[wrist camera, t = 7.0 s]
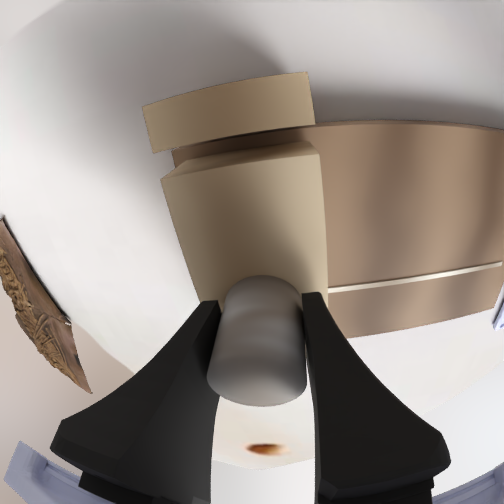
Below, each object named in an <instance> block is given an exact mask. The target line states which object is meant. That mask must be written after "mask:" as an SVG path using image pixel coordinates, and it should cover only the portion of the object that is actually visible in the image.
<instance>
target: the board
mask: <svg viewBox="0 0 504 504" xmlns="http://www.w3.org/2000/svg"><path fill="white" fill-rule="evenodd" d="M315 124H316V125H305V126H295V127H286V128H278V129H271V130H264V131H257V132H251V133H244V134H239V135H233V136H227V137H222V138H217V139H212V140H207V141H202V142H198V143H193V144H189V145H185V146H181V147H179V148H177V149H175V150H173V151H171V152H172V156H173V160H174V164H175V168H177V167H178V166H179V165H181V164H182V163H183V162H185V161H186V160H191V159H196V158H200V157H205V156H210V155H216V154H221V153H226V152H232V151H238V150H244V149H250V148H257V147H264V146H271V145H279V144H287V143H295V142H305V141H310V143H311V144H312V145H313V147H314V148H315V149H316V150H317V152H318V153H319V156H320V165H321V175H322V186H323V198H324V211H325V226H326V245H327V270H328V310H329V312H330V314H331V315H332V317H333V319H334V321H335V322H336V324H337V326H338V327H339V329H340V330H341V332H342V333H343V335H344V336H345V338H354V337H361V336H368V335H375V334H381V333H387V332H393V331H398V330H404V329H409V328H414V327H419V326H424V325H429V324H433V323H438V322H442V321H447V320H451V319H455V318H459V317H463V316H467V315H471V314H474V313H478V312H482V311H485V310H489V309H492V308H494V306H495V303H496V301H497V298H498V296H499V293H500V290H501V288H502V285H503V282H504V130H502V129H497V128H490V127H484V126H476V125H468V124H459V123H449V122H436V121H417V120H355V121H335V122H321V123H315Z"/></svg>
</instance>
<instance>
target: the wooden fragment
mask: <svg viewBox="0 0 504 504" xmlns="http://www.w3.org/2000/svg"><path fill="white" fill-rule="evenodd" d="M0 276H1V278H2V285H3V288H4V290H5V291H6V293H7V295H9V296H10V297H11V298H12V302H13V304H14V308H15V311H16V312H17V314H16V315H15V316H16V319H17V321H18V323H19V325H20V327H21V328H22V329H23V331H24V332H25V333H26V335H27V336H28V337H29V339H31V340H32V341H33V343H34V344H35V345H36V347H37V349H38V351H39V353H40V354H43V355H44V357H45V358H46V360H47V361H49V362H50V364H51V365H52V366H53V367H54V368H57V369H59V370H60V371H61V373H63V374H65V375H66V376H68V377H69V378H70V379H71V380H72V381H73V382H74V383H75V384H77V385H78V386H80V387H81V388H83V389H84V390H85V391H86V392H88V393H90V394H92V393H93V392H91V390H90V388H89V386H88V383H87V380H86V377H85V374H84V371H83V369H82V366H81V364H80V361H79V358H78V354H77V350H76V347H75V343H74V339H73V334H72V330H71V325H70V326H69V325H67V324H65V322H67V323H70V324H71V322H70V321H69V320H68V319H67V318H66V317H65V316H63V315H62V314H61V312H60V311H59V309H58V308H57V307H56V305H55V304H54V303H53V301H52V300H51V299H50V297H49V296H48V294H47V293H46V291H45V290H44V289H43V287H42V286H41V284H40V282H39V281H38V279H37V278H36V276H35V275H34V273H33V271H32V270H31V268H30V267H29V265H28V263H27V262H26V260H25V259H24V257H23V255H22V253H21V252H20V249H19V248H18V247H17V245H16V243H15V241H14V239H13V238H12V236H11V235H10V233H9V231H8V230H7V228H6V226H5V224H4V223H3V219H1V220H0Z"/></svg>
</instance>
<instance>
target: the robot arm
mask: <svg viewBox="0 0 504 504" xmlns="http://www.w3.org/2000/svg"><path fill="white" fill-rule="evenodd" d="M301 295H302V309H303V321H304V334H305V350H306V360H307V367H308V373H309V380H310V387H311V393H312V400H313V408H314V422H315V503H314V504H504V462H503V463H501V464H500V465H498V466H497V467H495V468H494V469H493V470H491V471H489V472H487V473H486V474H484V475H482V476H480V477H478V478H476V479H474V480H472V481H470V482H468V483H465V484H463V485H461V486H459V487H457V488H454V489H452V490H450V491H447V492H444V493H442V494H439V495H437V496H434V497H432V494H431V489H432V488H434V480H433V477H434V476H436V475H438V474H439V473H441V472H442V471H444V470H445V469H446V468H448V467H449V465H450V463H451V459H450V454H449V450H448V448H447V445H446V443H445V440H444V438H443V436H442V434H441V433H440V432H439V431H438V430H437V429H435V428H434V427H432V426H431V425H429V424H428V423H427V422H425V421H424V420H422V419H421V418H420V417H419V416H418V415H416V414H415V413H414V412H413V411H412V410H410V409H409V408H408V407H407V406H406V405H404V404H403V403H402V402H401V401H400V400H399V399H398V398H397V397H396V396H395V395H394V394H393V393H392V392H391V391H390V390H389V389H387V388H386V387H385V386H384V385H383V384H382V383H381V382H380V380H379V379H378V378H377V377H376V376H375V375H374V374H373V373H372V372H371V370H370V369H369V368H368V367H367V366H366V365H365V363H364V362H363V361H362V360H361V358H360V357H359V356H358V355H357V353H356V352H355V351H354V349H353V348H352V346H351V345H350V344H349V342H348V341H347V339H346V338H345V336H344V335H343V333H342V332H341V330H340V329H339V327H338V326H337V324H336V322H335V321H334V319H333V317H332V315H331V314H330V312H329V310H328V308H327V306H326V304H325V302H324V299H323V297H322V294H321V293H320V292H309V293H301ZM221 315H222V312H221V309H220V305H219V302H218V300H209V301H202V302H201V303H200V304H199V306H198V307H197V308H196V309H195V310H194V312H193V313H192V314H191V315H190V316H189V318H188V319H187V320H186V321H185V323H184V324H183V325H182V326H181V327H180V329H179V330H178V331H177V332H176V333H175V335H174V336H173V337H172V338H171V339H170V340H169V341H168V343H167V344H166V345H165V346H164V347H163V348H162V349H161V350H160V351H159V352H158V353H157V354H156V355H155V356H154V358H153V359H152V360H151V361H149V362H148V363H147V364H146V365H145V366H144V367H143V368H142V369H141V370H140V371H139V372H137V373H136V374H135V375H134V376H133V377H132V378H130V379H129V380H128V381H127V382H125V383H124V384H123V385H121V386H120V387H119V388H117V389H116V390H115V391H113V392H112V393H111V394H109V395H108V396H106V397H104V398H103V399H102V400H100V401H98V402H97V403H95V404H93V405H91V406H90V407H88V408H86V409H84V410H82V411H80V412H78V413H76V414H74V415H72V416H70V417H68V418H66V419H63V420H62V421H61V423H60V425H59V427H58V430H57V432H56V434H55V437H54V439H53V441H52V443H51V446H50V449H51V451H52V452H54V453H55V454H56V455H58V456H59V457H61V458H62V459H64V460H65V461H67V462H68V463H70V464H72V465H74V466H75V467H77V468H79V469H80V470H82V471H83V473H82V476H81V477H79V476H77V475H75V474H73V473H71V472H69V471H68V470H66V469H64V468H62V467H60V466H58V465H57V464H55V463H53V462H51V461H50V460H48V459H47V458H46V457H44V456H43V455H41V454H39V453H38V452H37V451H35V450H33V449H32V448H30V447H29V446H28V445H26V444H24V443H23V442H22V441H19V443H18V445H17V447H16V449H15V452H14V454H13V457H12V459H11V461H10V464H9V467H8V469H7V472H6V475H5V477H4V481H5V482H6V483H7V484H8V485H9V486H10V487H11V488H12V489H13V490H15V491H16V492H17V493H18V494H19V495H20V496H21V497H22V498H23V499H24V500H25V501H26V502H27V503H28V504H210V503H211V493H210V492H211V489H210V488H211V484H210V482H211V457H212V445H213V434H214V424H215V416H216V411H217V406H218V402H219V397H220V395H219V394H217V393H216V392H215V391H214V390H213V389H212V388H211V387H210V385H209V384H208V381H207V372H208V368H209V364H210V360H211V356H212V351H213V347H214V343H215V339H216V335H217V331H218V327H219V323H220V319H221ZM493 328H494V330H495V331H496V330H499V329H502V328H504V303H503V306H502V308H501V310H500V313H499V315H498V317H497V319H496V321H495V323H494V326H493Z"/></svg>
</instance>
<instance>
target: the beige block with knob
mask: <svg viewBox="0 0 504 504" xmlns="http://www.w3.org/2000/svg"><path fill="white" fill-rule="evenodd" d="M142 109H143V114H144V118H145V122H146V126H147V131H148V135H149V139H150V143H151V147H152V151H153V153H157V152H161V151H165V150H168V149H172V148H176V147H181V146H185V145H189V144H193V143H198V142H202V141H207V140H212V139H217V138H222V137H227V136H233V135H239V134H244V133H251V132H257V131H264V130H271V129H278V128H286V127H295V126H305V125H316V124H315V117H314V110H313V103H312V97H311V91H310V85H309V79H308V73H307V72H299V73H289V74H280V75H272V76H265V77H258V78H252V79H246V80H241V81H236V82H230V83H226V84H221V85H216V86H212V87H208V88H203V89H199V90H196V91H192V92H188V93H184V94H181V95H177V96H174V97H170V98H167V99H164V100H161V101H158V102H155V103H152V104H149V105H146V106H143V107H142ZM160 180H161V184H162V188H163V191H164V194H165V198H166V201H167V205H168V208H169V211H170V215H171V218H172V221H173V224H174V228H175V231H176V234H177V237H178V240H179V243H180V246H181V249H182V252H183V255H184V258H185V261H186V264H187V267H188V270H189V273H190V276H191V279H192V281H193V284H194V287H195V290H196V293H197V295H198V298H199V301H200V303H201V302H202V301H209V300H218V302H219V305H220V309H221V312H222V315H221V319H220V323H219V327H218V331H217V335H216V339H215V343H214V347H213V351H212V356H211V360H210V364H209V368H208V372H207V381H208V384H209V385H210V387H211V388H212V389H213V390H214V391H215V392H216V393H217V394H219V395H220V396H222V397H224V398H225V399H228V400H230V401H232V402H235V403H239V404H243V405H248V406H258V407H265V406H276V405H281V404H284V403H287V402H290V401H292V400H294V399H296V398H297V397H299V396H300V395H301V394H302V393H303V392H304V390H305V389H306V386H307V372H306V350H305V334H304V321H303V309H302V295H301V293H309V292H320V293H321V294H322V297H323V299H324V302H325V304H326V306H327V308H328V270H327V245H326V226H325V211H324V198H323V186H322V175H321V165H320V156H319V153H318V152H317V150H316V149H315V148H314V147H313V145H312V144H311V143H310V141H305V142H295V143H287V144H279V145H271V146H264V147H257V148H250V149H244V150H238V151H232V152H226V153H221V154H216V155H210V156H205V157H200V158H196V159H191V160H186V161H185V162H183V163H182V164H181V165H179V166H178V167H177V168H175V169H174V170H172V171H171V172H170V173H168V174H167V175H166V176H164V177H163V178H162V179H160Z"/></svg>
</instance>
